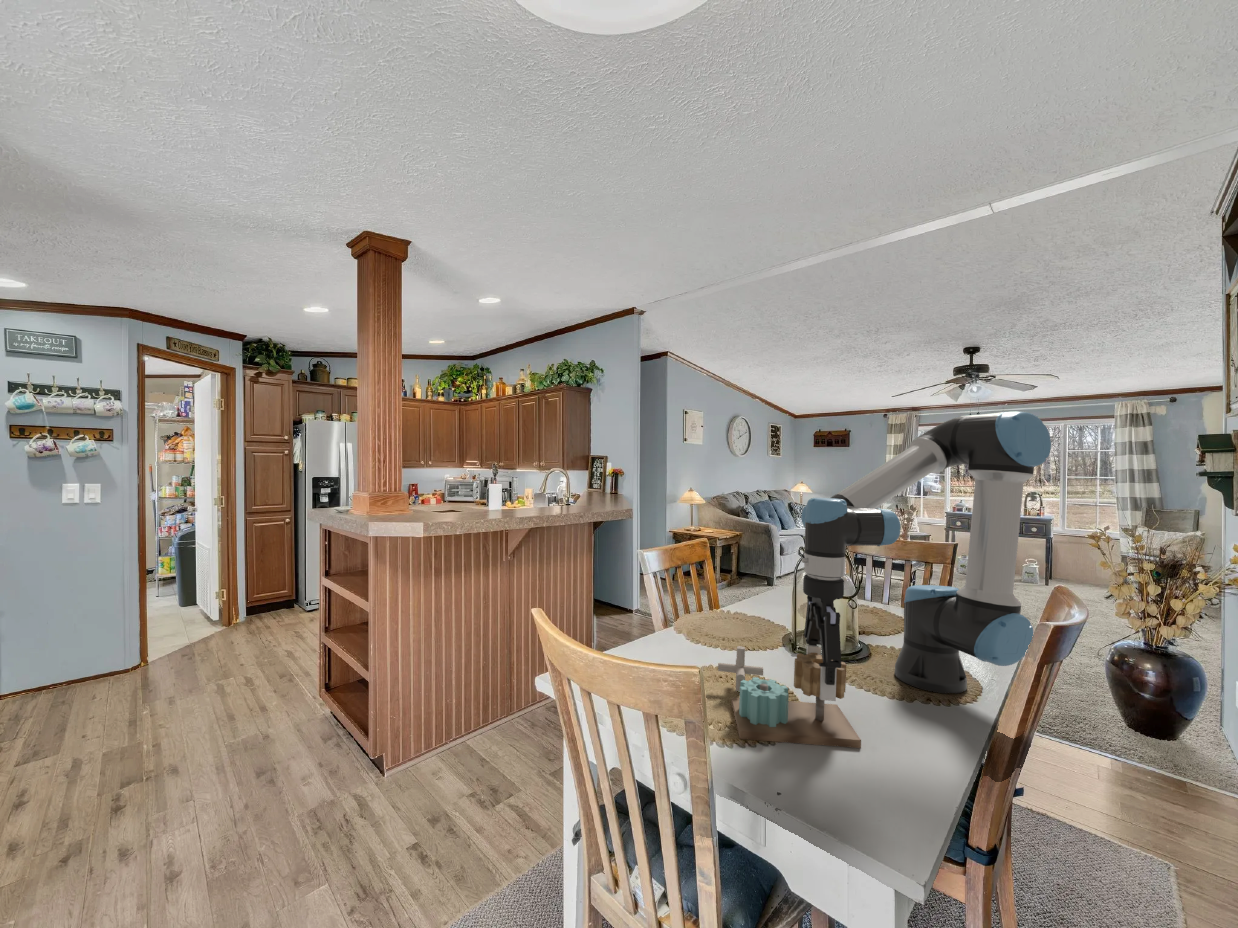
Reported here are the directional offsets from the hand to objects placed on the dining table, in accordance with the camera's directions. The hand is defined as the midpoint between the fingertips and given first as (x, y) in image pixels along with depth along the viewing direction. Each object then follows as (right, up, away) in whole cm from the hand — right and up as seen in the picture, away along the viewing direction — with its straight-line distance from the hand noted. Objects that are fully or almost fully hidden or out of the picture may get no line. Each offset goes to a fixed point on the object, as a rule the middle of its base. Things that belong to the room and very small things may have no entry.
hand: (819, 687), depth 103 cm
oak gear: (0, 0, 0) cm, 0 cm away
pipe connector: (-12, -8, +15) cm, 21 cm away
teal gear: (-11, -6, +1) cm, 13 cm away
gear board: (-5, -8, +1) cm, 9 cm away
